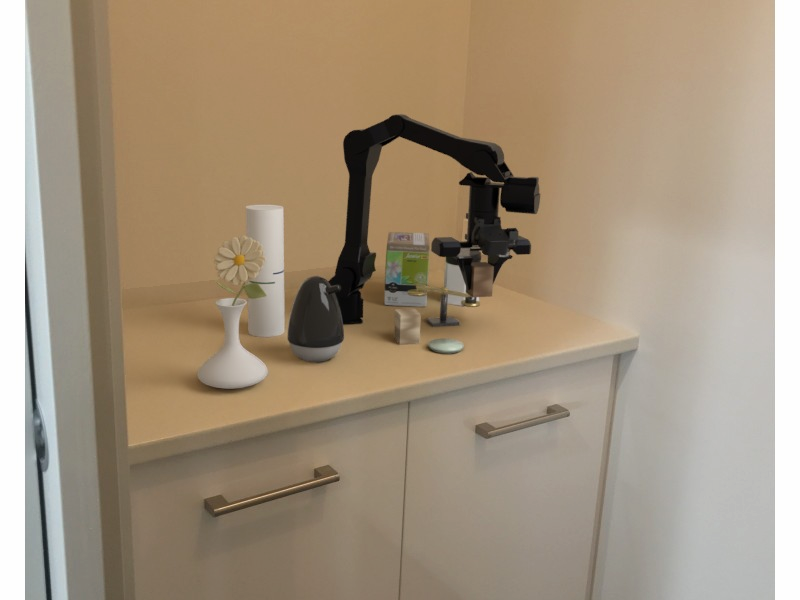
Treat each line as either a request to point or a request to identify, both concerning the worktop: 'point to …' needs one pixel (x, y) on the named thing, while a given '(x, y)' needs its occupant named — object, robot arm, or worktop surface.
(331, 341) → the pump dispenser
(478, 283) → the block walnut
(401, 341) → the block beech
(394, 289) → the tea box
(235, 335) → the flower in vase
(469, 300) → the balance
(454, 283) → the jar
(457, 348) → the dish
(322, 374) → the worktop surface
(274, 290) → the cylindrical container
